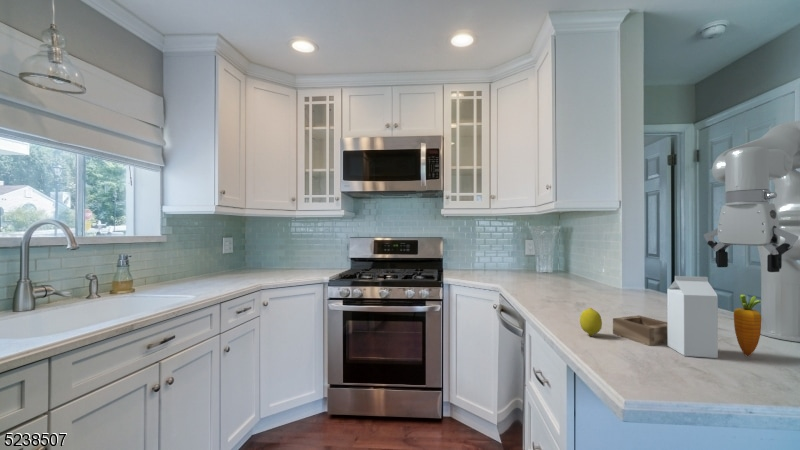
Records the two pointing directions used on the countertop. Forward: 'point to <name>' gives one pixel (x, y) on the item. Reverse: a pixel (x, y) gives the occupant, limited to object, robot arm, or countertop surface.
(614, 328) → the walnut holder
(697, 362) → the countertop surface
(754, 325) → the carrot
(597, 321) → the lemon
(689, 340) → the milk carton
